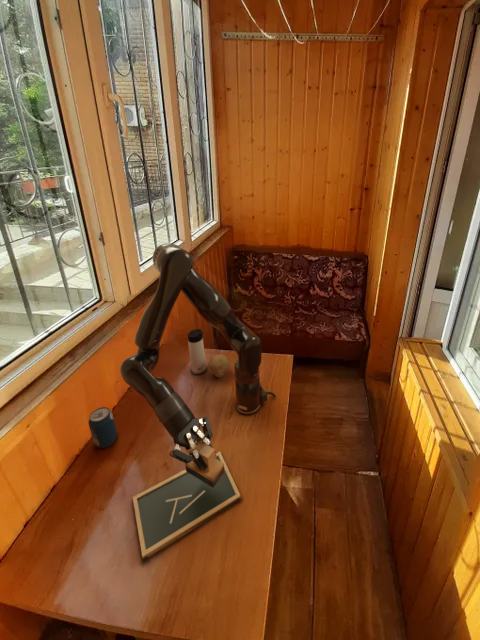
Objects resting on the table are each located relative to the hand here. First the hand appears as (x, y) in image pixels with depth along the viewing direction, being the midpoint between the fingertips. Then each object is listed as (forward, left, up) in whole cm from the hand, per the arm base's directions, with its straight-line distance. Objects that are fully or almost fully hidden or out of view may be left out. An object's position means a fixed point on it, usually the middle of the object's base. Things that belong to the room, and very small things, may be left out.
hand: (209, 462), depth 87 cm
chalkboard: (+7, -2, -12) cm, 14 cm away
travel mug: (-13, -54, -13) cm, 57 cm away
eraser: (+1, -2, -5) cm, 5 cm away
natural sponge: (-20, -46, -13) cm, 51 cm away
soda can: (+25, -36, -13) cm, 45 cm away
